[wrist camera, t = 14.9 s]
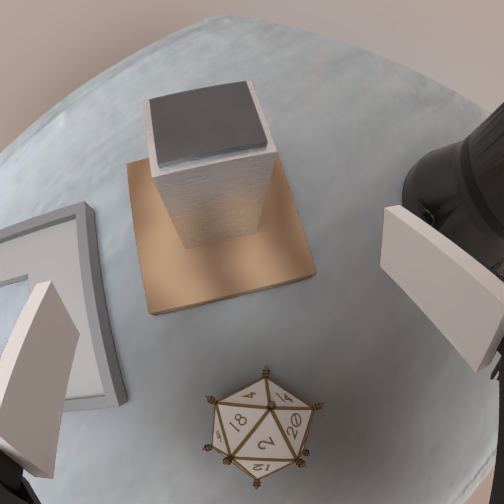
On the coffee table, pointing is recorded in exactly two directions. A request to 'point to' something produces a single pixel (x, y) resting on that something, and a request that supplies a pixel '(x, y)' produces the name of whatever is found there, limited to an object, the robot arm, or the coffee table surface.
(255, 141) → the block
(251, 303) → the coffee table surface
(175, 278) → the board
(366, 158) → the coffee table surface
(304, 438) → the game die
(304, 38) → the coffee table surface
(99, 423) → the coffee table surface
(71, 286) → the grey flat frame
